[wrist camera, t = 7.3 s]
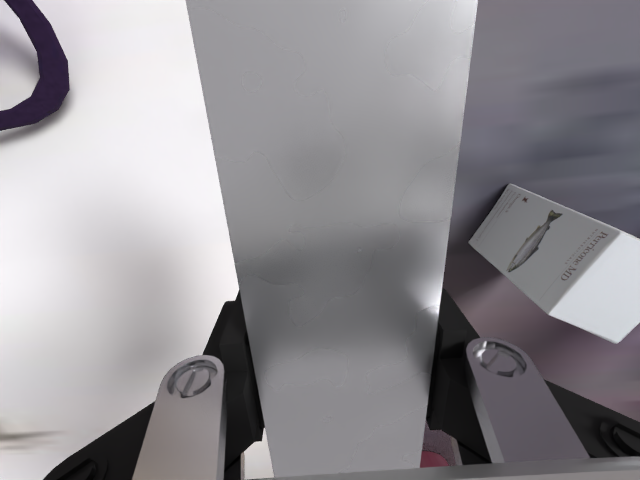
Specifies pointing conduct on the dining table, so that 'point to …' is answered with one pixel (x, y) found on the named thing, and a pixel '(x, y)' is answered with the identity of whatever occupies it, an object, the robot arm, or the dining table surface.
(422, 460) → the plant pot
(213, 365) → the robot arm
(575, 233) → the supplement box
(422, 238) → the block
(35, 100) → the decorative bottle
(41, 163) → the dining table surface
